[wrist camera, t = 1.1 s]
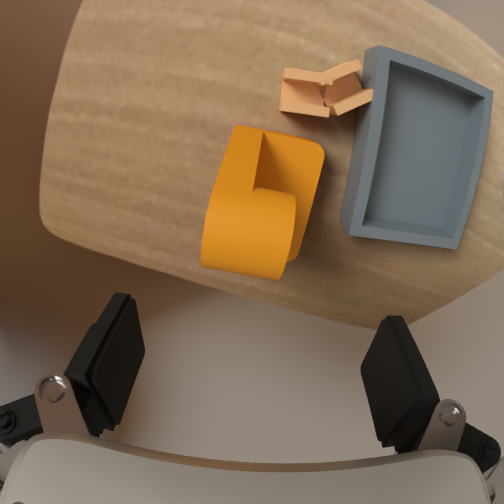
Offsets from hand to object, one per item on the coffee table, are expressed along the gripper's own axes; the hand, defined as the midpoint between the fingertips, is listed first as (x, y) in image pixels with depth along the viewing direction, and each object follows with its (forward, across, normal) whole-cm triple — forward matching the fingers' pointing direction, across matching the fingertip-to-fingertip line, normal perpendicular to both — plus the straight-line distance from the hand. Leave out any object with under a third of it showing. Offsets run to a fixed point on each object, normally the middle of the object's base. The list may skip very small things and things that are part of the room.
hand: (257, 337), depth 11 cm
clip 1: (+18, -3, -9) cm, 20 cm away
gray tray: (+18, -14, -6) cm, 23 cm away
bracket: (+18, -1, 0) cm, 18 cm away
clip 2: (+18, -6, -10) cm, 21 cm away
